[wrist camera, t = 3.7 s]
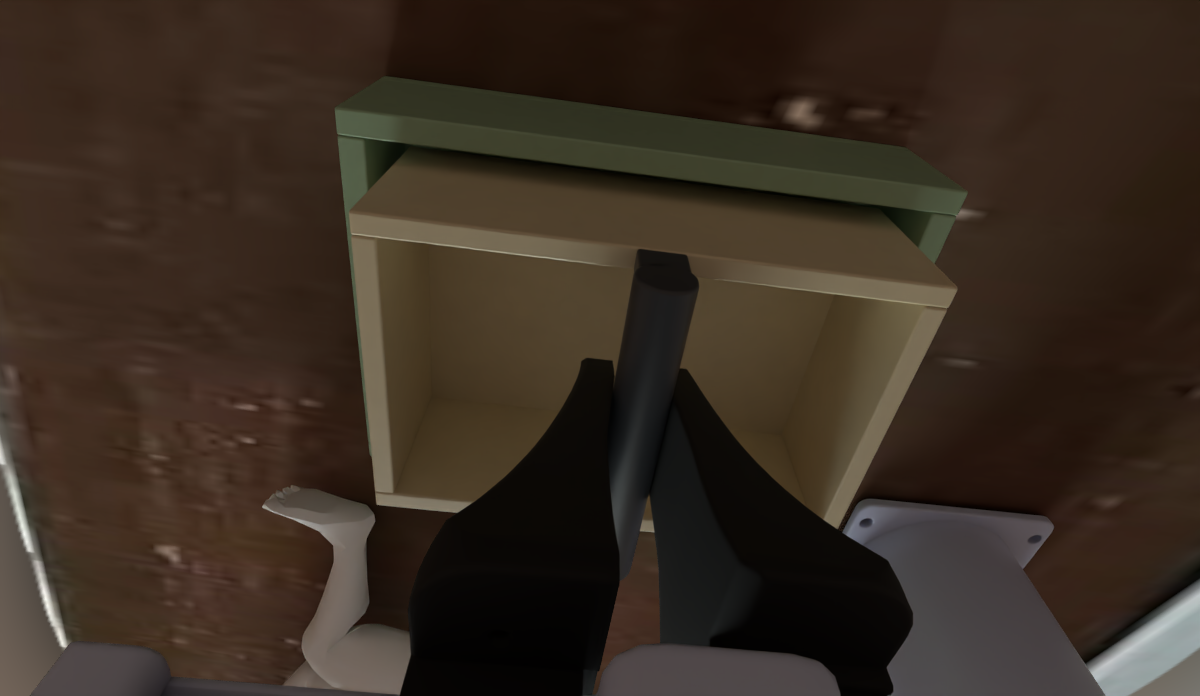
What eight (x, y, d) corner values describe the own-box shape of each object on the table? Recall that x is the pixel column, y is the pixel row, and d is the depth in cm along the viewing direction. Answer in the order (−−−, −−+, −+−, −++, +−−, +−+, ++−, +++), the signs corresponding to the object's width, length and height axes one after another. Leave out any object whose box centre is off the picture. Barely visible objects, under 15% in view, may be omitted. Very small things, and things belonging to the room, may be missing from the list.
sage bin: (795, 427, 23) (824, 502, 20) (401, 385, 22) (369, 457, 19) (906, 147, 17) (969, 191, 14) (383, 75, 16) (333, 106, 13)
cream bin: (789, 440, 20) (848, 606, 15) (418, 400, 20) (352, 560, 15) (880, 207, 16) (1005, 332, 11) (409, 145, 15) (310, 248, 10)
